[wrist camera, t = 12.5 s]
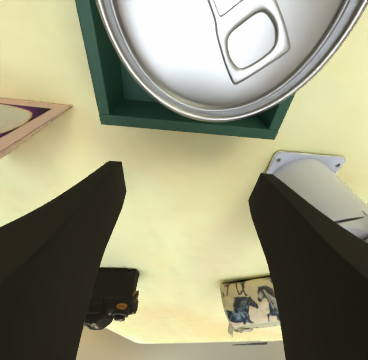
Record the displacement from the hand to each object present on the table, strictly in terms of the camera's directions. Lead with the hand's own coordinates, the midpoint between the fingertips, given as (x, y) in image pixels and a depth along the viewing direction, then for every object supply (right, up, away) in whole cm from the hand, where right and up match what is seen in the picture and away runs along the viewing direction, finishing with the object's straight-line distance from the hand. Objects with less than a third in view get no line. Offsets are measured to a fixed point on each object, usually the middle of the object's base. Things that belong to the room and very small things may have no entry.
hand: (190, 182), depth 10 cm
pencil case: (+19, -23, +32) cm, 44 cm away
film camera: (-17, -22, +32) cm, 43 cm away
